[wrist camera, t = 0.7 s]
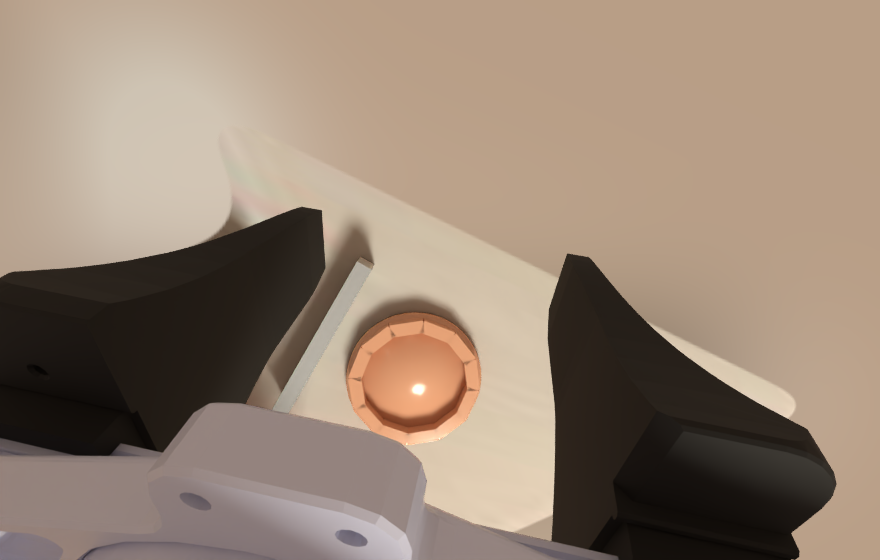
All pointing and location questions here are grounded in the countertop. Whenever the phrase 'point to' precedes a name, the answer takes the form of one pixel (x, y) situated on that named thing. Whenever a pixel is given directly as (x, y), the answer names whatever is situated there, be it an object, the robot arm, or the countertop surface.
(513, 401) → the countertop surface
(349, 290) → the acrylic wall
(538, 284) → the countertop surface
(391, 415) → the bowl
